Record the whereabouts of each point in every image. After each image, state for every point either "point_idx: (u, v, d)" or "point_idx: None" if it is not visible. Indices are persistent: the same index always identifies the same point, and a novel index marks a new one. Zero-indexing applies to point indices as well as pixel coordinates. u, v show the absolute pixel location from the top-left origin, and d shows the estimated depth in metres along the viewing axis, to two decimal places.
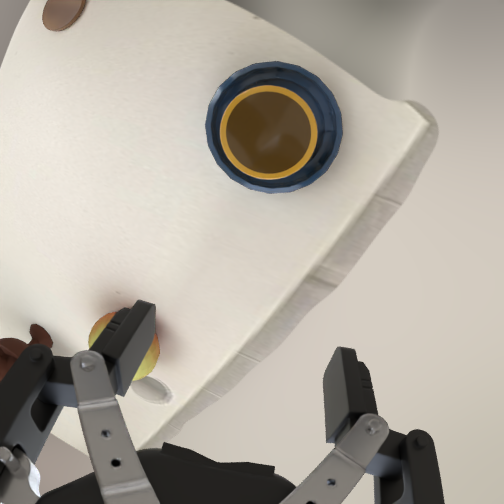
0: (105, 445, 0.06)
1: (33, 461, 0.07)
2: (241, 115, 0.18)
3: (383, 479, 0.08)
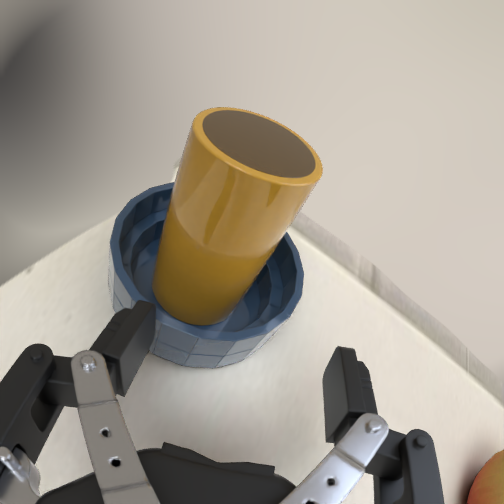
0: (105, 445, 0.06)
1: (33, 461, 0.07)
2: (236, 150, 0.12)
3: (383, 479, 0.08)
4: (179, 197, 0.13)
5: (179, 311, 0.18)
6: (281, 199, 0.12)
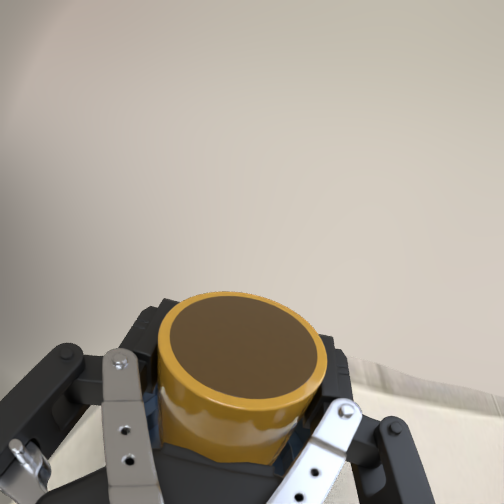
0: (122, 443, 0.06)
1: (48, 456, 0.07)
2: (225, 377, 0.09)
3: (362, 468, 0.09)
4: (172, 426, 0.10)
5: None
6: (294, 413, 0.09)
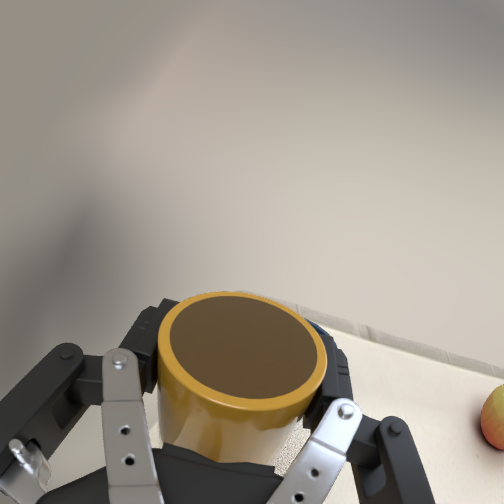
0: (122, 443, 0.06)
1: (47, 456, 0.07)
2: (225, 376, 0.09)
3: (362, 468, 0.09)
4: (172, 426, 0.10)
5: None
6: (294, 413, 0.09)
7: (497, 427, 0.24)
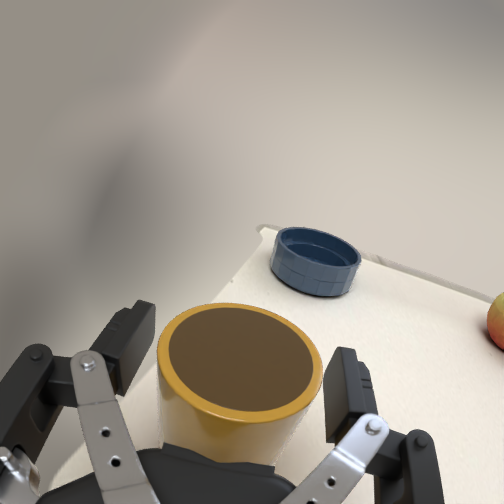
0: (105, 445, 0.06)
1: (33, 461, 0.07)
2: (222, 389, 0.09)
3: (383, 479, 0.08)
4: (171, 434, 0.10)
5: None
6: (290, 424, 0.09)
7: (503, 324, 0.32)
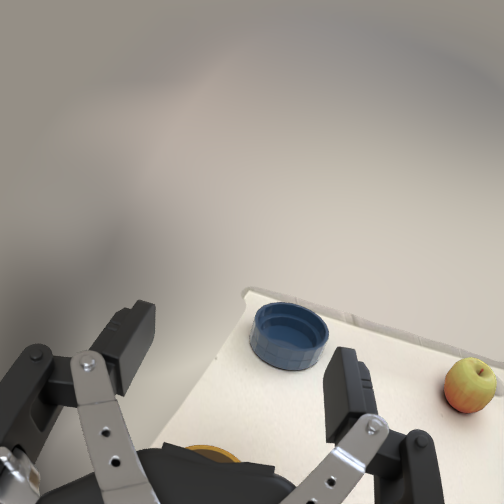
0: (105, 445, 0.06)
1: (33, 461, 0.07)
2: None
3: (383, 479, 0.08)
4: None
5: None
6: None
7: (455, 391, 0.37)
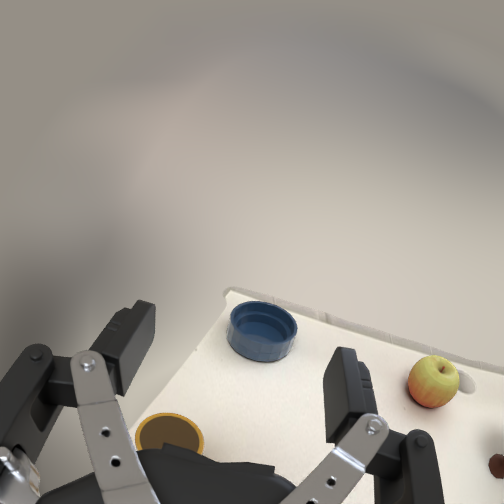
0: (105, 445, 0.06)
1: (33, 461, 0.07)
2: None
3: (383, 479, 0.08)
4: None
5: None
6: None
7: (416, 386, 0.44)
